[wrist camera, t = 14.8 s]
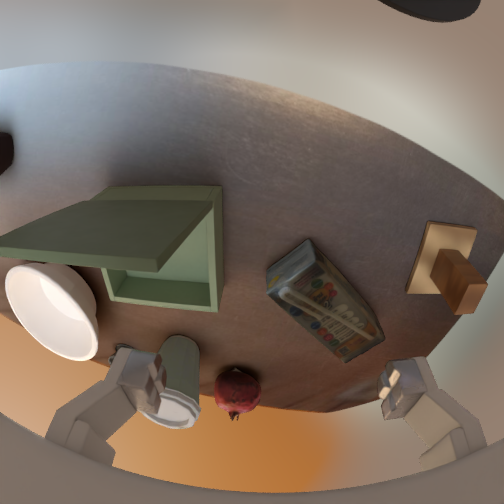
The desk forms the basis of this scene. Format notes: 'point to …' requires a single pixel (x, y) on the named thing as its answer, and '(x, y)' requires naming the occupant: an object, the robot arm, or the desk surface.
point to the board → (431, 243)
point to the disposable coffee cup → (179, 384)
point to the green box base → (175, 256)
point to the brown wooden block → (458, 281)
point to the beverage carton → (323, 302)
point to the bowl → (55, 308)
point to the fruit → (236, 392)
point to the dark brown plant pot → (5, 151)
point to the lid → (108, 234)
